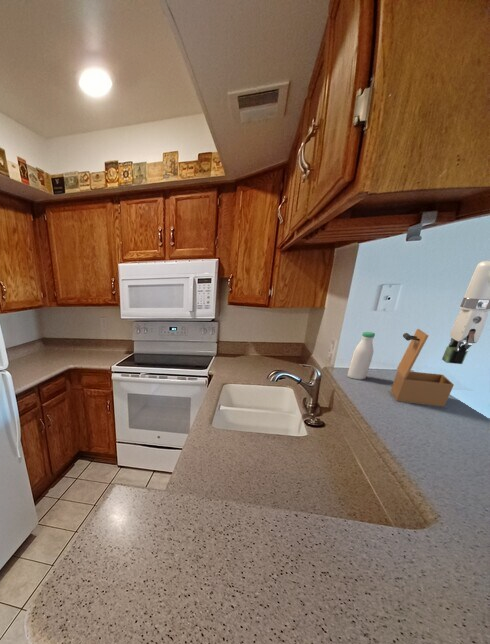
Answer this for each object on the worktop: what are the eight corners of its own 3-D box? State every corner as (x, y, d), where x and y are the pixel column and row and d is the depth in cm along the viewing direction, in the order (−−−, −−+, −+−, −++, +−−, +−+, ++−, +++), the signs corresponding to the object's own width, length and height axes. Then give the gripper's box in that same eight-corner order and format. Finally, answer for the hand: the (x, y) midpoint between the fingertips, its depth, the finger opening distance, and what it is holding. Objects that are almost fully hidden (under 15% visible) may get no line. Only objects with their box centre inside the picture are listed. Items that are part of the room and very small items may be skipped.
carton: (434, 395, 131) (442, 374, 127) (444, 406, 121) (453, 384, 117) (390, 390, 136) (397, 370, 132) (396, 400, 126) (404, 379, 122)
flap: (419, 329, 123) (404, 326, 125) (428, 335, 113) (412, 332, 115) (399, 369, 132) (384, 366, 133) (406, 378, 122) (390, 375, 123)
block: (457, 360, 114) (462, 347, 111) (462, 364, 110) (468, 350, 108) (441, 359, 115) (447, 346, 113) (446, 362, 111) (451, 349, 109)
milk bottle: (367, 380, 147) (380, 335, 137) (348, 378, 149) (360, 333, 140) (364, 375, 153) (377, 331, 143) (346, 373, 155) (358, 330, 146)
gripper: (504, 308, 95) (475, 369, 104) (479, 302, 109) (456, 356, 118) (472, 307, 98) (447, 366, 107) (452, 301, 112) (431, 354, 120)
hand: (452, 360), depth 112 cm, fingers closed on block, 4 cm apart
